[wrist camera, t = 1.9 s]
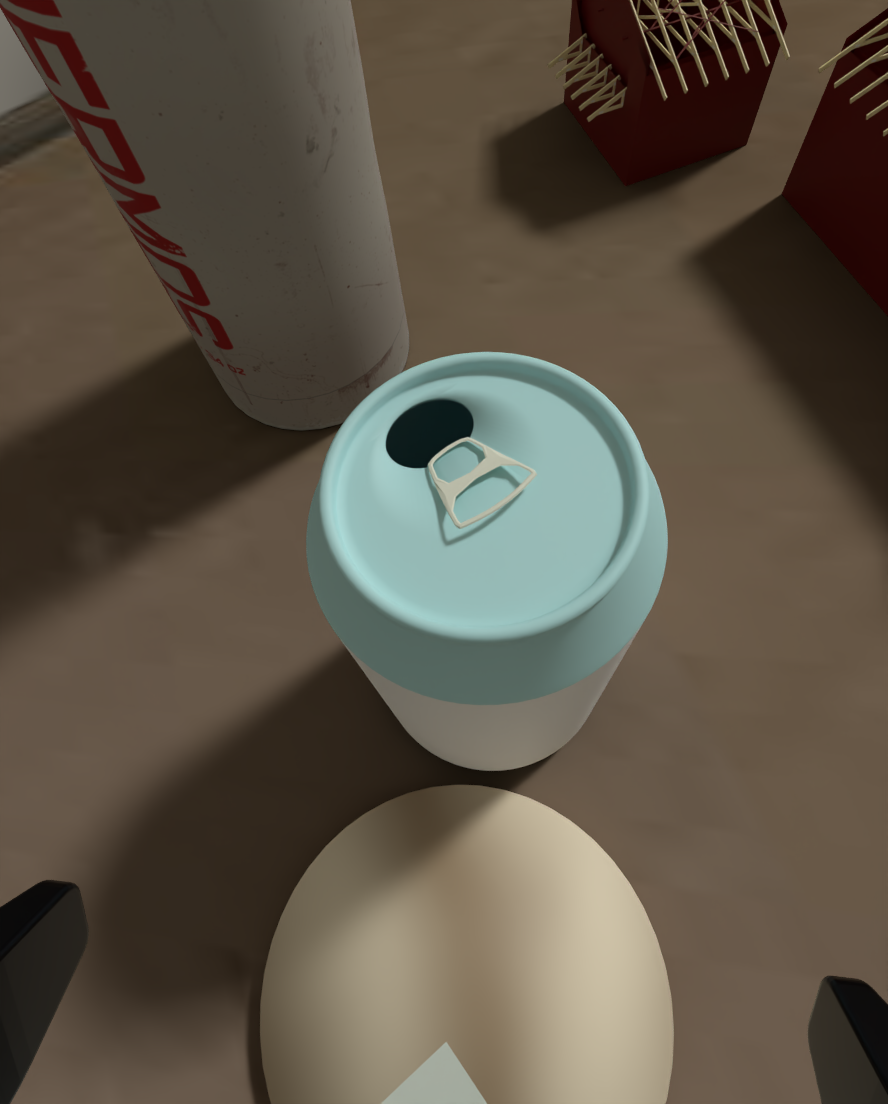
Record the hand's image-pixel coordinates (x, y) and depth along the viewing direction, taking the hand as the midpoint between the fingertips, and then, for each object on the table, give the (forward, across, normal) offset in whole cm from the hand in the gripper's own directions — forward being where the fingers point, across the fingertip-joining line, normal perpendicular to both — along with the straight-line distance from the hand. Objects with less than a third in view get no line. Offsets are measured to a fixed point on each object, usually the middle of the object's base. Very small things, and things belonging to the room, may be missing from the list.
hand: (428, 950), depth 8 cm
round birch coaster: (+7, 0, +11) cm, 13 cm away
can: (+14, 0, +4) cm, 15 cm away
